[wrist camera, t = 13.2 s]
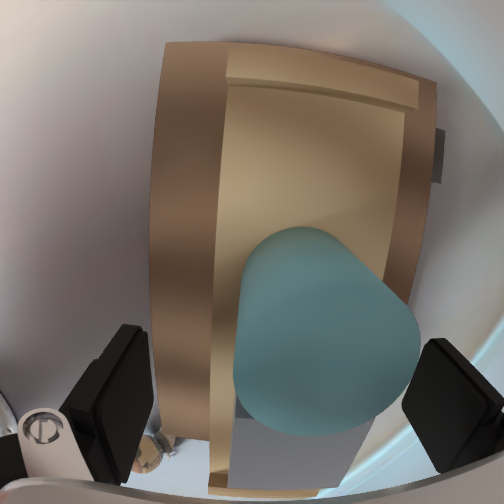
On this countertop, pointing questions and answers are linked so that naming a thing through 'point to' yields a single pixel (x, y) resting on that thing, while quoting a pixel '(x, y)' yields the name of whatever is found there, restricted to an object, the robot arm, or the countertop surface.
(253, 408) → the teal cylinder
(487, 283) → the countertop surface
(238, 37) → the countertop surface
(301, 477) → the grey cube
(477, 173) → the countertop surface
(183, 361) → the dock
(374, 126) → the light wood long block
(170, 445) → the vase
